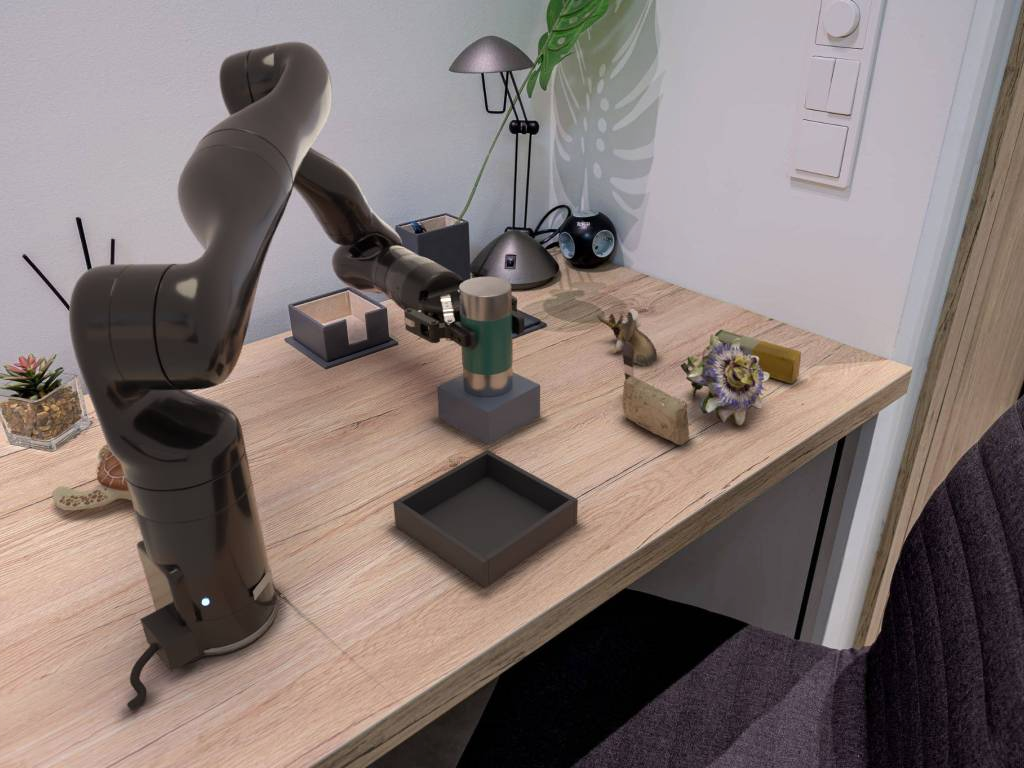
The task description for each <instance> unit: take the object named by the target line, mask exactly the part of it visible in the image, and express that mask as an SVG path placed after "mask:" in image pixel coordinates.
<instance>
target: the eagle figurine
mask: <svg viewBox="0 0 1024 768" xmlns="http://www.w3.org/2000/svg"><path fill="white" fill-rule="evenodd" d="M596 317H597V319H598V320H599V322H601V323H602V324H605V325H606V326H608V327H609V328H610V329H611V331H612V332H613V336H615V338H616V339H617V340H616V344H615V348H614V351H613V354H617V353H618V352H620V351H621V350H623V347H624V346H626V344H627V343H629V344H630V345H631V348H632V351H633V354H632V355H633V357H632V358H633V364H637V365H638V366H643V367H646V366H650V364H653V363H654V362H655V361H656V359H657V357H658V353H657V349H656V347H655V345H654V344H653V342H652V340H651V338H649V337H648V335H646V334H645V333H643V332H642V331H640V330H639V329H638V328H640V327H641V326H642V321H641V319H640V318H641V317H640V315H639V312H638V311H637V310H636V309H634V308H629V309H628V313H627V315H626V317H627V321H626V322H623V321H624V315H623V313H620V317H619V319H618V320H617V322H616V318H615V315H614V314H613V313H611V314H609V318H608V319H605V318H604V317H602V316H601V315H600V314H598V313H597V314H596Z"/></svg>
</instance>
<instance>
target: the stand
mask: <svg viewBox="0 0 1024 768" xmlns="http://www.w3.org/2000/svg"><path fill="white" fill-rule="evenodd" d="M512 374H513V385H512V388H511V389H510V390H509V391H508V392H506V393H504V394H502V395H498V396H493V397H481V396H476V395H473V394H470V393H469V392H467V391H466V390H465V388H464V382H463V373H462V374H460V375H457V376H455V377H454V378H452V379H450V380H447V381H445V382H443V383H441V384H439V385H437V386H436V390H437V391H436V393H437V409H438V419H440V420H442V421H444V422H445V423H447V424H449V425H451V426H453V427H454V428H456V429H458V430H460V431H462V432H464V433H465V434H467V435H469V436H471V437H473V438H474V439H477V440H478V441H481V442H483V443H484V444H486V445H488V446H490V445H492V444H493V443H495V442H497V441H499V440H500V439H503V438H504V437H506V436H507V435H509V434H511V433H514V432H515V431H517V430H518V429H520V428H523V427H524V426H526V425H528V424H529V423H531V422H533V421H535V420H537V419H538V418H541V384H540V383H537V382H535V381H533V380H531V379H529V378H527V377H524V376H522V375H520V374H518V373H516V372H513V371H512Z"/></svg>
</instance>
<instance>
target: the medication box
mask: <svg viewBox="0 0 1024 768" xmlns="http://www.w3.org/2000/svg"><path fill="white" fill-rule="evenodd" d="M713 335H714V336H717V337H718V340H719V341H720V342H721V343H722V345H726V343H728V344H729V345H730V343H731V342H732V341H734V340H735V339H737V338H738V339H740V347H739V348H740V349H741V351H742V350H743V349H745V352H744V355H746V354H748V355H751V356H757V357H759V362H758V365H759V366H760V369H762V370H761V371H763V372H767V373H769V375H770V376H769V378H772V379H775V380H778V381H781V382H785V383H788V384H791V385H792V384H793V383H794V382H795V381H796V380H797V379H798V377H799V376H800V367H801V357H802V351H800V350H796V349H792V348H789V347H785V346H782V345H778V344H776V343H775V344H774V343H770V342H767V341H763V340H760V339H756V338H752V337H750V336H745V335H741V334H738V333H734V332H732V331H727V330H724V329H720V330H718V331H717V332H716V333H715V334H713Z"/></svg>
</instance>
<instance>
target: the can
mask: <svg viewBox="0 0 1024 768" xmlns="http://www.w3.org/2000/svg"><path fill="white" fill-rule="evenodd" d="M463 281H464V282H462V283H461V284H460V286H459V294H460V323H462V324H463V325H465V326H467V327H468V328H470V329H472V330H473V331H474V332H475V333H476V342H477V347H476V348H475V349H472V350H469V349H467V348H466V347H462V346H460V347H461V365H462V374H463V382H464V388H465V390H466V391H467V392H469V393H470V394H473V395H476V396H481V397H493V396H498V395H502V394H504V393H506V392H508V391H509V390H510V389H511V388H512V385H513V374H512V372H513V363H514V351H513V350H514V349H513V344H514V343H513V332H512V284H511V283H510V282H509V281H508V280H507V279H505V278H501V277H498V276H497V277H496V276H477V277H471V278H468V279H466V280H463Z"/></svg>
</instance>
